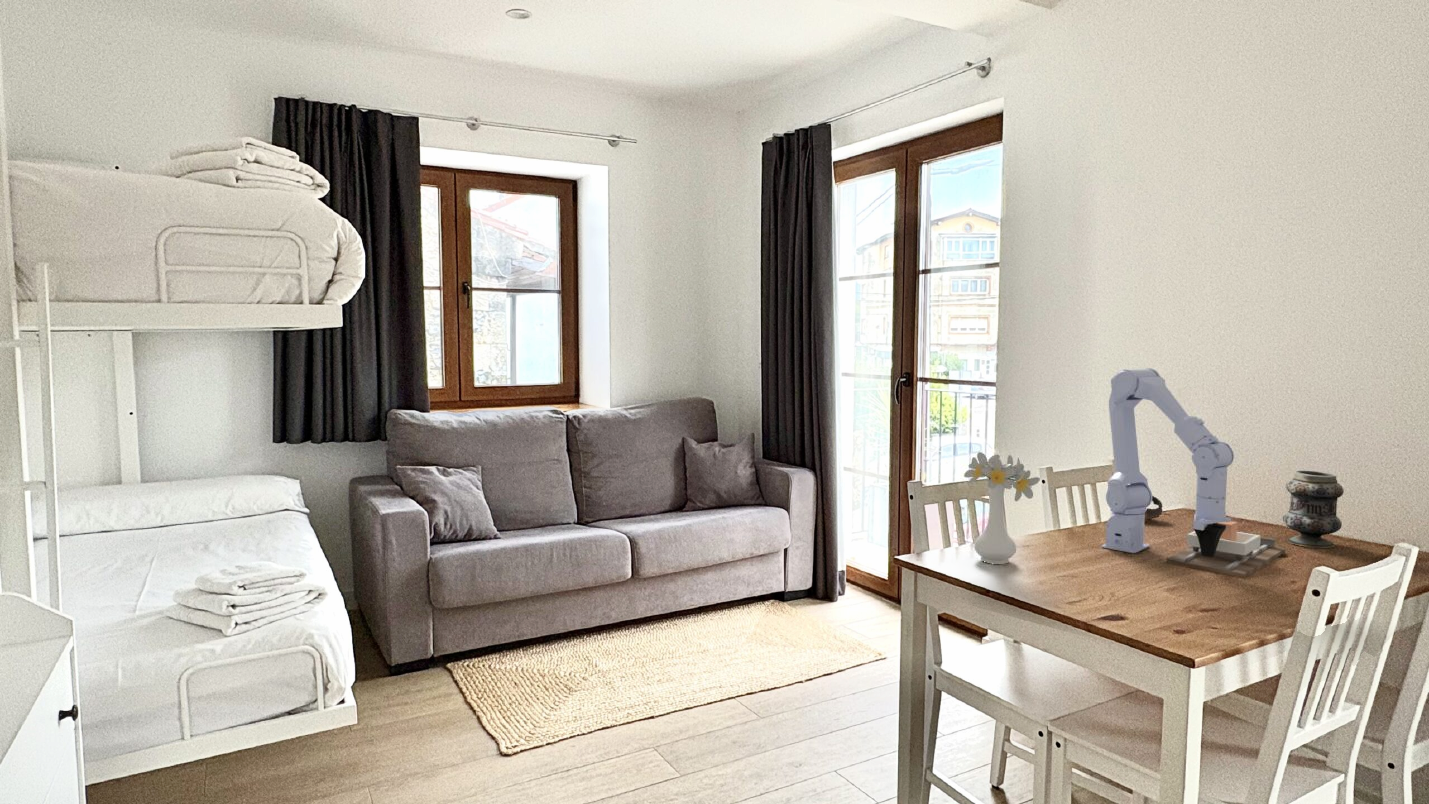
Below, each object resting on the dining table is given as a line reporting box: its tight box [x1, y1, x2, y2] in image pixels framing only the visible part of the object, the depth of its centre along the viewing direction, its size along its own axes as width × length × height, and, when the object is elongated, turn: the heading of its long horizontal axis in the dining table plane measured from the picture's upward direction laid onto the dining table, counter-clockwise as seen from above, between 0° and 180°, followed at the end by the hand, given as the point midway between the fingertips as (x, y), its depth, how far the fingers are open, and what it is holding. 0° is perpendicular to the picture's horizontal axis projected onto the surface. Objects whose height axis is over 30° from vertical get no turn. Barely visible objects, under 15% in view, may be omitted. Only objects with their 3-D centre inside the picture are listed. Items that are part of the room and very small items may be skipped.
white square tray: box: [1186, 530, 1262, 560], centre depth 197 cm, size 11×12×4 cm
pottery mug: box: [1144, 495, 1163, 523], centre depth 239 cm, size 12×10×8 cm
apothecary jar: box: [1282, 469, 1345, 549], centre depth 211 cm, size 12×12×18 cm
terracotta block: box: [1218, 520, 1238, 542], centre depth 197 cm, size 4×4×5 cm
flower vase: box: [963, 451, 1041, 565], centre depth 196 cm, size 13×18×25 cm
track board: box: [1165, 536, 1286, 579], centre depth 200 cm, size 30×16×3 cm, turn 132°
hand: (1207, 556), depth 191 cm, fingers closed
